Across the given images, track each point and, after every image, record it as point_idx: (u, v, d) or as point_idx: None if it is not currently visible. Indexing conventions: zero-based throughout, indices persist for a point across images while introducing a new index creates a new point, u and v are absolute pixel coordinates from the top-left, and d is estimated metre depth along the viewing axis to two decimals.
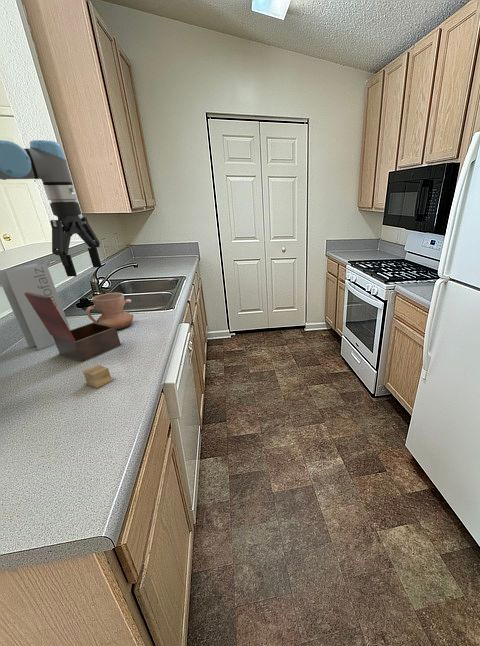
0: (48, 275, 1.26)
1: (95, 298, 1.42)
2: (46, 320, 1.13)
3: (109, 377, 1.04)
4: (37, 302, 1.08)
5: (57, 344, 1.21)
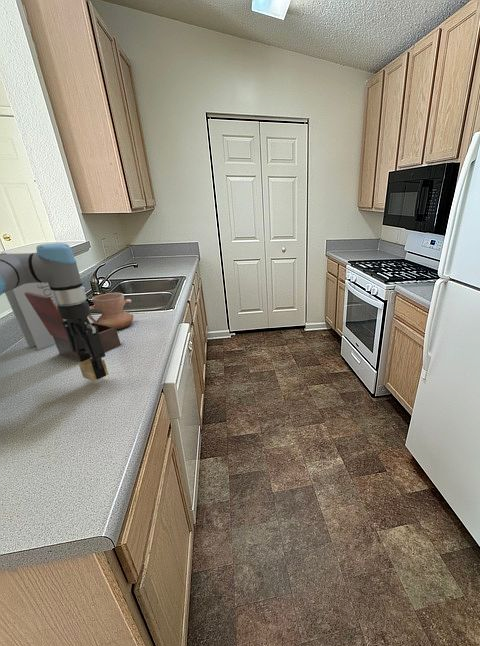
0: None
1: (95, 298, 1.42)
2: (46, 320, 1.13)
3: (105, 369, 1.02)
4: (37, 302, 1.08)
5: (57, 344, 1.21)
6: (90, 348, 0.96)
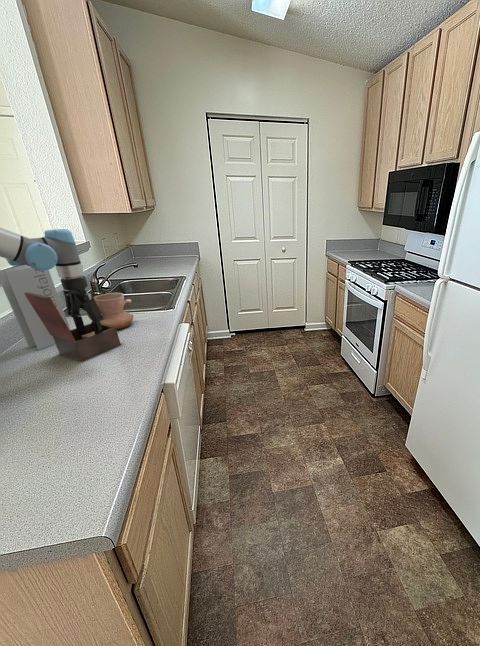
0: (48, 275, 1.26)
1: (95, 298, 1.42)
2: (46, 320, 1.13)
3: None
4: (37, 302, 1.08)
5: (57, 344, 1.21)
6: (90, 312, 1.18)
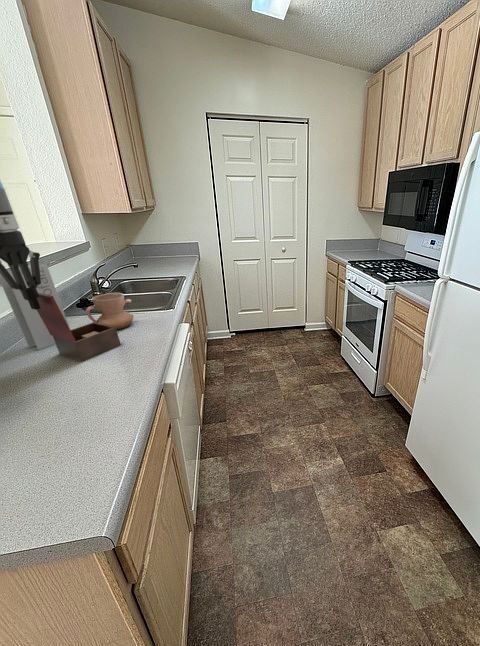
0: (48, 275, 1.26)
1: (95, 298, 1.42)
2: (47, 320, 1.14)
3: None
4: (39, 301, 1.09)
5: (57, 344, 1.21)
6: (14, 278, 1.02)
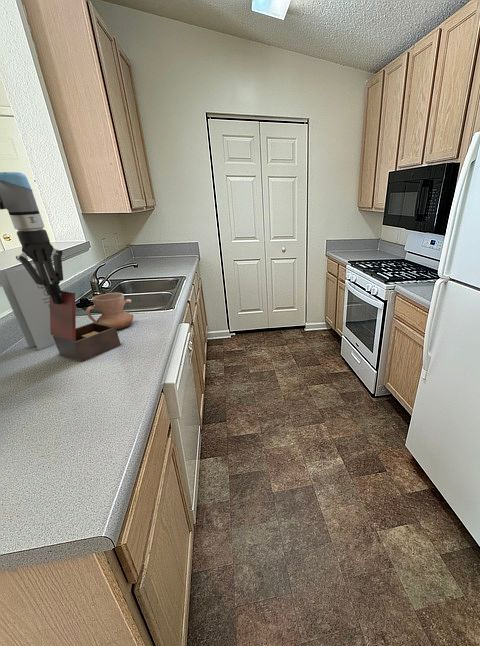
0: None
1: (95, 298, 1.42)
2: (56, 317, 1.16)
3: None
4: None
5: (57, 344, 1.21)
6: (39, 274, 1.07)
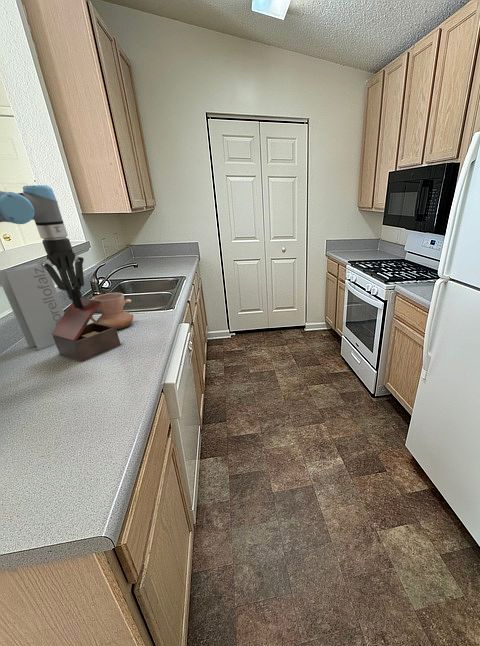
0: (48, 275, 1.26)
1: (95, 298, 1.42)
2: (67, 319, 1.19)
3: None
4: None
5: (57, 344, 1.21)
6: (62, 280, 1.13)
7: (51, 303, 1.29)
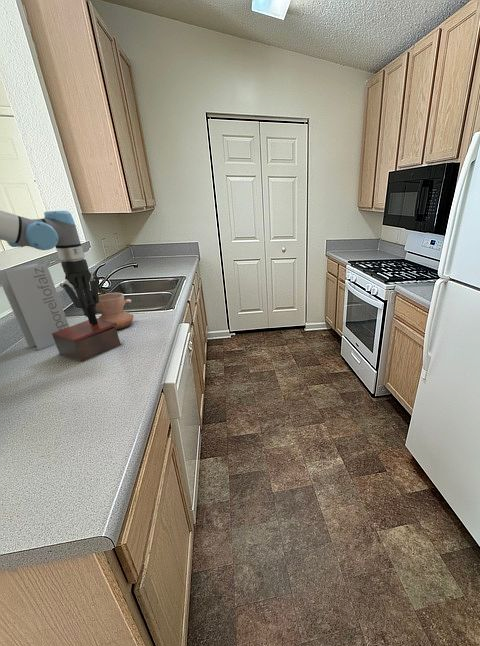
0: (48, 275, 1.26)
1: None
2: (76, 328, 1.23)
3: None
4: None
5: (57, 344, 1.21)
6: (78, 298, 1.19)
7: (51, 303, 1.29)
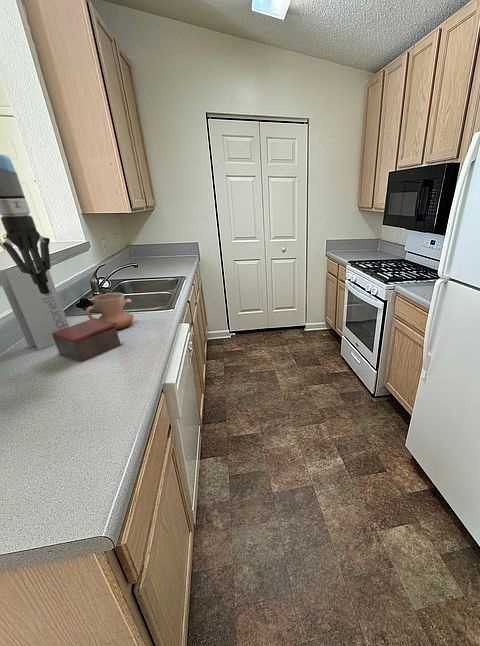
0: (48, 275, 1.26)
1: (95, 298, 1.42)
2: (76, 328, 1.23)
3: None
4: (97, 322, 1.27)
5: (57, 344, 1.21)
6: (25, 262, 1.03)
7: (51, 303, 1.29)
